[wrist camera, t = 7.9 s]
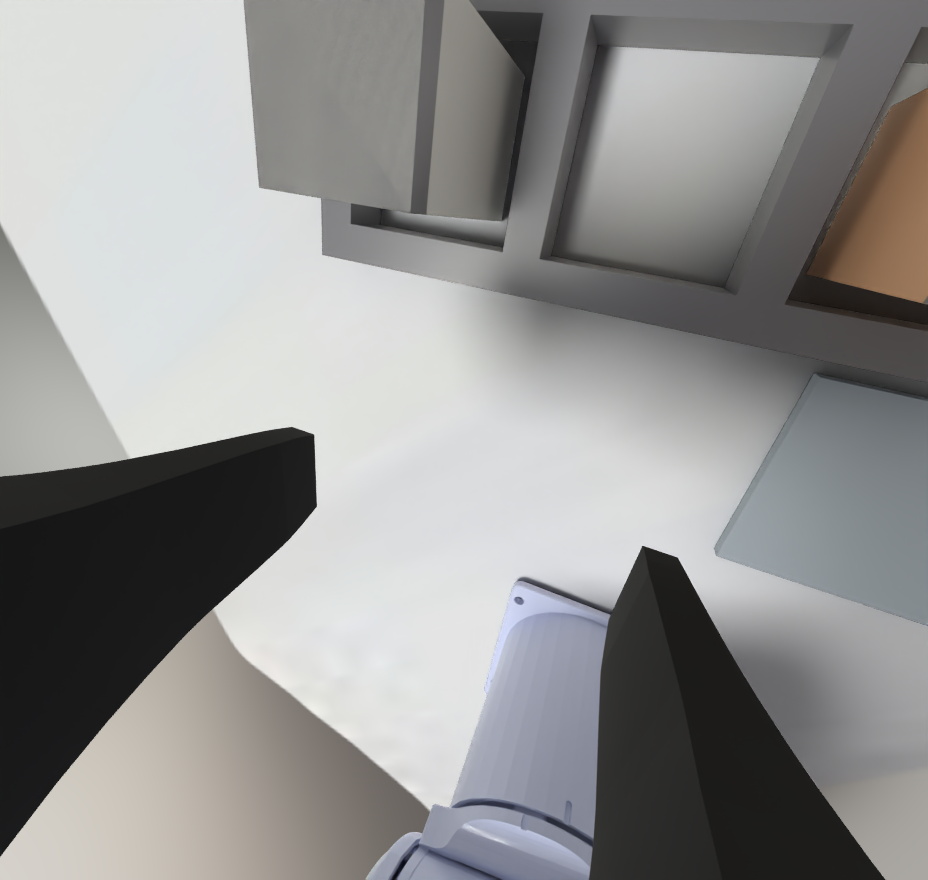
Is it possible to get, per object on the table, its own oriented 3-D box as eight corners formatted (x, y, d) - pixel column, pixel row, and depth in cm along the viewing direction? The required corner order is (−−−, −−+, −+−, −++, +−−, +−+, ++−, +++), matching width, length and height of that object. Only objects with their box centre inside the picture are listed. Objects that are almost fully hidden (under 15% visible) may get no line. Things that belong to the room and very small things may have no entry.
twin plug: (501, 221, 15) (410, 213, 9) (400, 204, 16) (259, 187, 10) (524, 76, 13) (428, -55, 7) (408, 67, 14) (239, -54, 8)
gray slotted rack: (1009, 387, 12) (1071, 413, 10) (353, 252, 17) (322, 254, 16) (1327, 2, 8) (1508, -60, 6) (356, -19, 13) (316, -55, 12)
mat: (938, 621, 15) (946, 632, 15) (714, 548, 17) (716, 555, 17) (1123, 440, 12) (1142, 448, 11) (814, 373, 13) (819, 377, 13)
